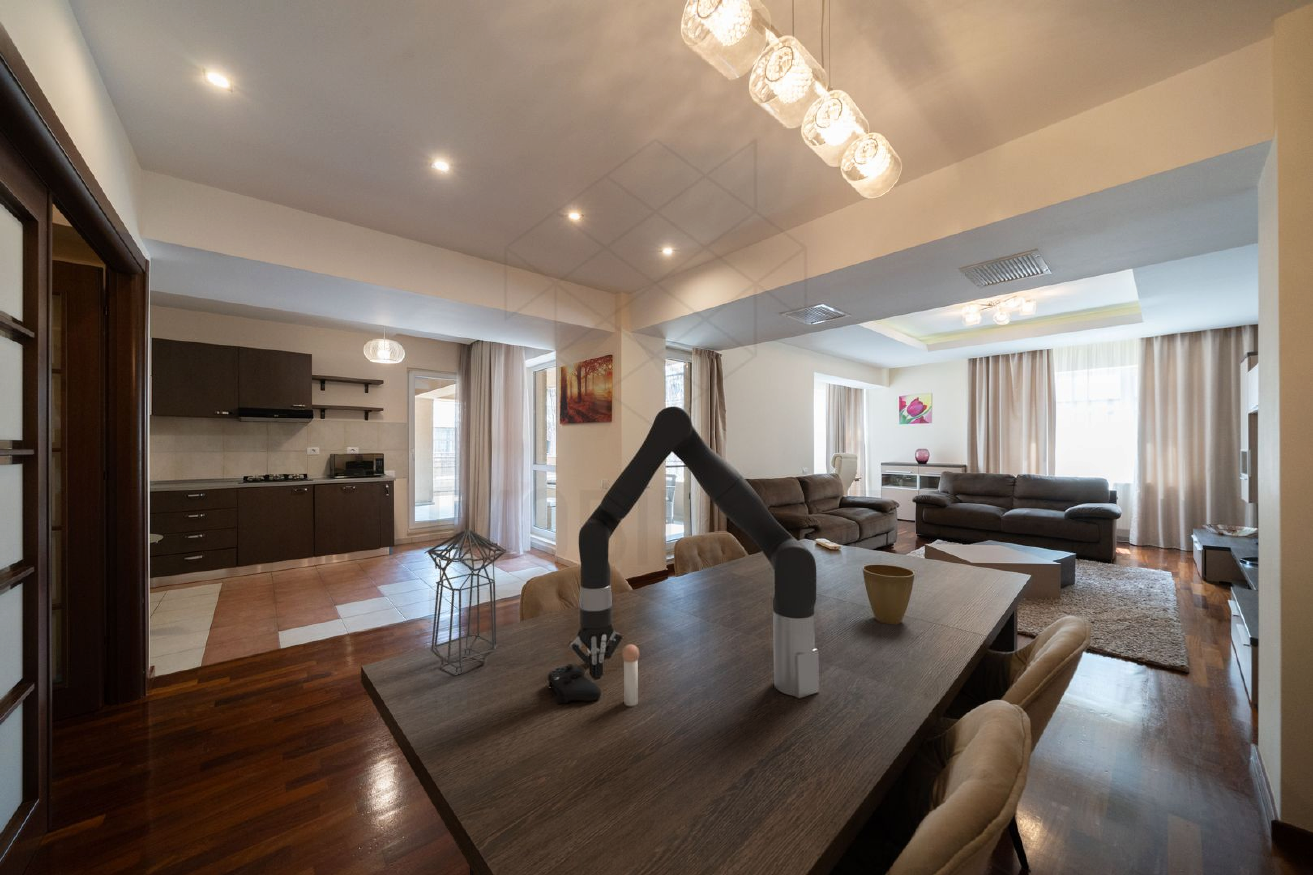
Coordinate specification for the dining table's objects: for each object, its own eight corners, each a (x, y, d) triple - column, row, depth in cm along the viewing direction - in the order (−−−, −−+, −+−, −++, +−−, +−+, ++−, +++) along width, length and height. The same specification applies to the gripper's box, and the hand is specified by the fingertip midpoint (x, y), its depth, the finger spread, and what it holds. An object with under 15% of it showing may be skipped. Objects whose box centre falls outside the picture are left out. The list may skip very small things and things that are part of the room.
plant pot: (866, 626, 146) (865, 574, 146) (860, 610, 160) (859, 562, 160) (920, 631, 141) (919, 577, 142) (910, 614, 156) (908, 565, 156)
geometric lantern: (475, 648, 133) (478, 523, 134) (507, 665, 123) (510, 530, 124) (418, 667, 121) (421, 530, 122) (448, 688, 111) (452, 538, 112)
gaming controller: (605, 680, 105) (562, 681, 101) (601, 708, 105) (557, 711, 100) (585, 655, 118) (545, 656, 114) (581, 680, 117) (541, 682, 113)
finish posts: (642, 704, 103) (642, 646, 103) (626, 708, 101) (626, 650, 102) (600, 657, 126) (599, 610, 126) (586, 661, 124) (586, 613, 124)
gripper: (573, 613, 106) (574, 692, 105) (627, 604, 112) (628, 678, 112) (563, 604, 112) (564, 678, 112) (615, 595, 119) (616, 665, 118)
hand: (596, 678), depth 112 cm, fingers closed
